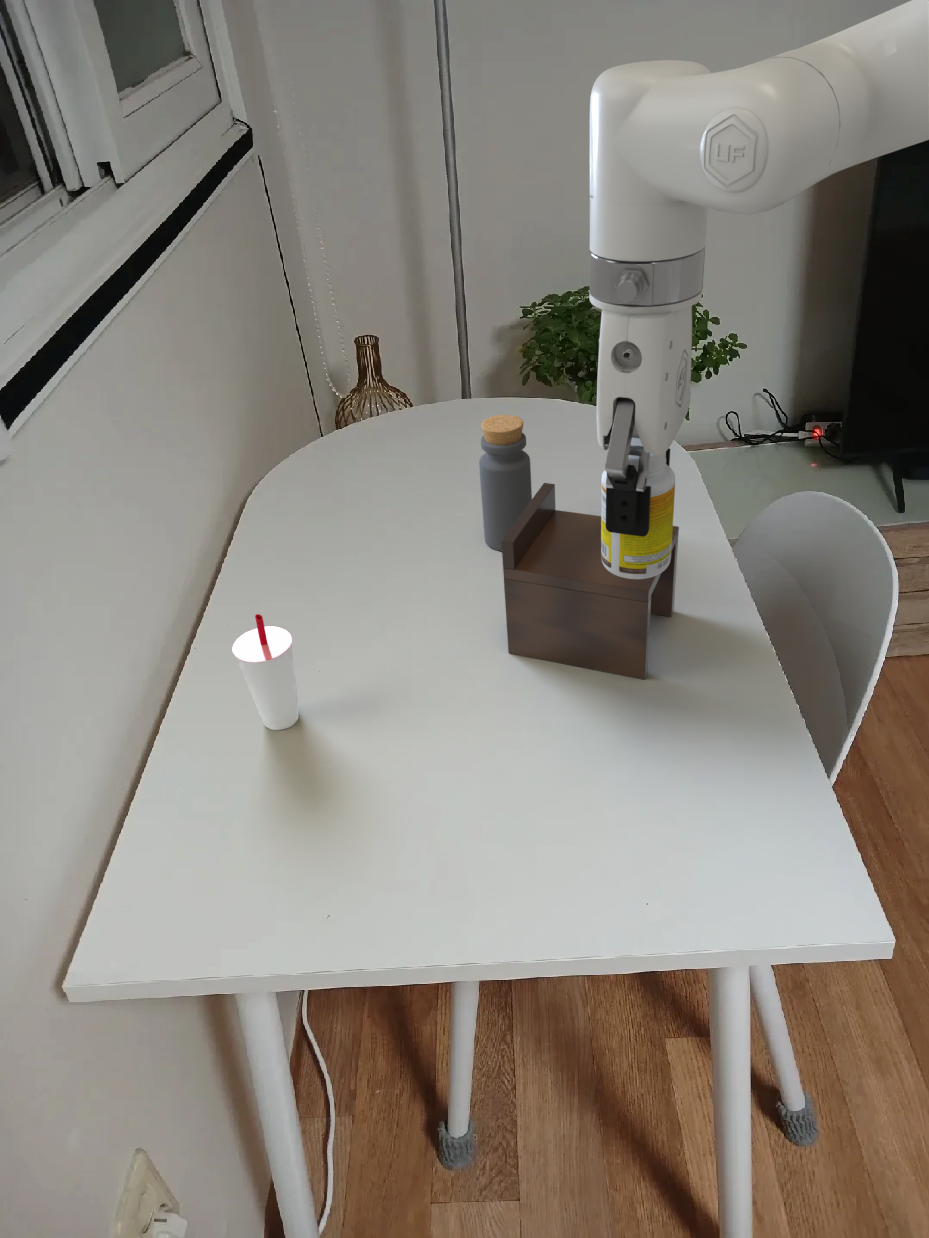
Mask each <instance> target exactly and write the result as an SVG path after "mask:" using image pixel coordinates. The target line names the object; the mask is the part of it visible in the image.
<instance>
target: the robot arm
mask: <svg viewBox="0 0 929 1238" xmlns="http://www.w3.org/2000/svg"><path fill="white" fill-rule="evenodd" d="M925 141H929V0H909V1H907V2H905V3H902V4H900V5H898V6H896V7H893V8H891V9H889V10H886V11H884V12H882V13H879V14H878V15H876V16H873V17H871V18H868V19H865V20H864V21H861V22H859V23H857V24H854V25H852V26H850V27H848V28H845V29H843V30H841V31H838V32H836V33H833V34H832V35H829V36H827V37H824V38H822V39H821V38H820V39H819V40H817V41H814V42H812V43H811V42H810V43H809V44H806V45H803V46H801V47H799V48H795V49H791V50H787V51H785V52H782V53H779V54H776V55H773V56H771V57H768V58H765V59H761V60H759V61H757V62H754V63H750V64H748V65H744V66H742V67H737V68H732V69H728V70H722V71H717V72H711V70H710V69H709V68H708V67H706V66H705V65H704V64H701V63H699V62H696V61H691V60H682V59H681V60H679V59H662V60H661V59H658V60H645V61H637V62H629V63H625V64H620V65H616V66H613V67H612V66H611V67H610V68H607V69H605V70H604V71H602V72H601V74H599V76H598V77H596V79H595V81H594V83H593V85H592V88H591V92H590V99H589V278H588V279H589V286H588V287H589V293H588V295H589V298H588V299H589V303H591V305H592V306H594V307H595V308H597V309H598V310H599V309H600V310H601V314H600V315H601V316H600V328H599V338H598V359H597V377H596V379H597V380H596V438H597V444H598V445H599V446H600V448H601V449H602V450H604V451H607V453H606V458H605V462H604V470H605V471H606V473H607V478H606V530H607V531H609V532H612V533H620V534H627V535H634V536H642V537H644V536H646V535H647V533H648V531H649V521H650V498H651V486H646V485H647V476H648V468H649V459H650V453H655V455H656V456H660V455H662V454H663V453H665V452H666V464H667V465H668V466H669V467H670V462H671V446H672V444H673V442H674V440H675V438H676V436H677V434H678V433H679V431H680V429H681V427H682V425H683V423H684V421H685V418H686V416H687V414H688V412H689V408H690V405H691V390H692V389H691V388H692V351H693V349H692V347H693V344H692V343H693V306H695V305H697V304H698V303H699V302H700V301H701V300H702V299H703V298H702V297H703V288H704V286H703V285H704V273H705V272H704V271H705V257H706V241H707V240H706V239H707V227H708V226H707V225H708V215H709V213H708V212H709V209H711V210H714V211H718V212H721V213H722V212H723V213H726V214H733V215H757V214H761V213H764V212H765V213H766V212H768V211H771V210H773V209H775V208H778V207H780V206H782V205H784V204H785V203H787V202H789V201H791V200H792V199H793V198H795V197H796V196H798V195H800V194H802V193H803V192H805V191H807V190H808V189H809V188H810V187H812V186H814V185H816V184H817V183H820V182H821V181H822V180H824V179H826V178H829V177H830V176H832V175H834V174H836V173H838V172H841V171H843V170H845V169H848V168H851V167H854V166H856V165H859V164H862V163H864V162H867V161H870V160H874V159H876V158H878V157H882V156H884V155H888V154H891V153H895V152H897V151H899V150H902V149H906V148H909V147H911V146H914V145H917V144H920V143H923V142H925ZM632 438H639V439H640V441H641V443H642V446H636V445H631V440H632ZM629 455H634V456H639V464H638V472H637V470H636V468H635V466H634V465H629V463H630V462H629Z"/></svg>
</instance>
